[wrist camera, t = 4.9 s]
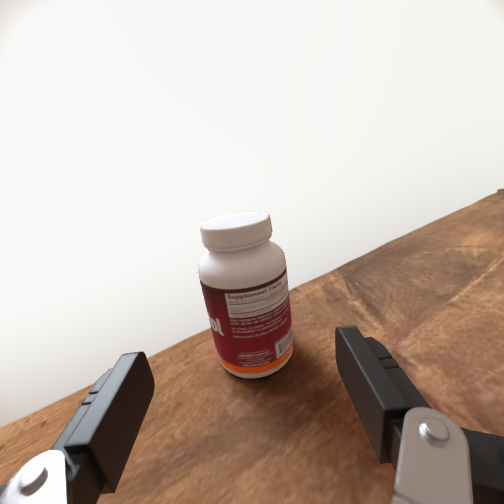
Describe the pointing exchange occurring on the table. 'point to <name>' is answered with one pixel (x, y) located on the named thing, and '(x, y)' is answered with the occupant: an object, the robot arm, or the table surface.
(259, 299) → the pill bottle
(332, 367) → the table surface
